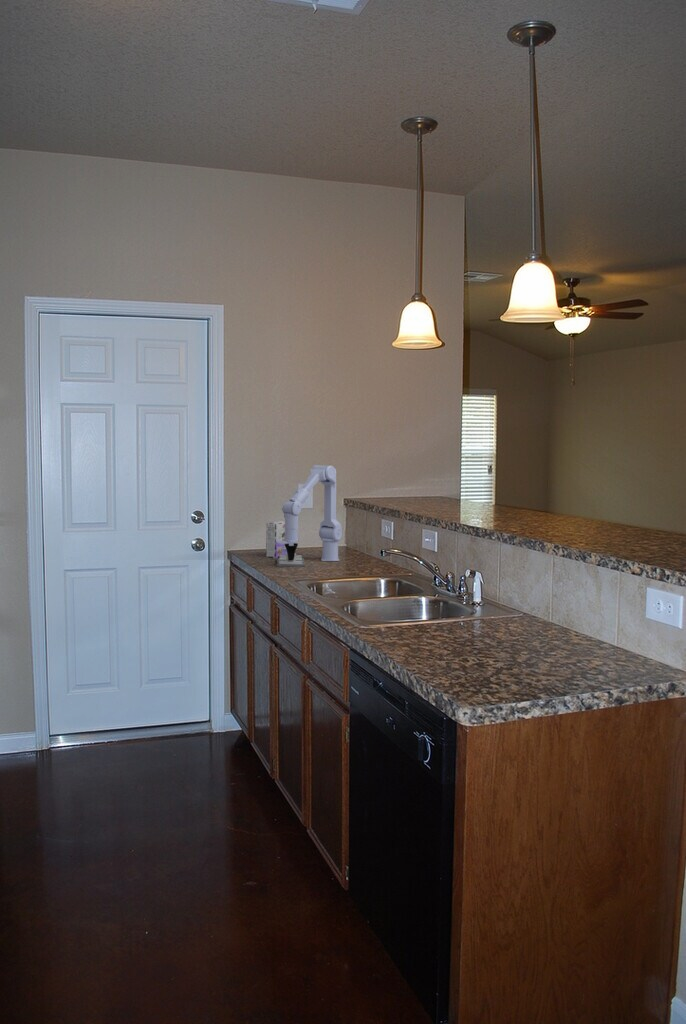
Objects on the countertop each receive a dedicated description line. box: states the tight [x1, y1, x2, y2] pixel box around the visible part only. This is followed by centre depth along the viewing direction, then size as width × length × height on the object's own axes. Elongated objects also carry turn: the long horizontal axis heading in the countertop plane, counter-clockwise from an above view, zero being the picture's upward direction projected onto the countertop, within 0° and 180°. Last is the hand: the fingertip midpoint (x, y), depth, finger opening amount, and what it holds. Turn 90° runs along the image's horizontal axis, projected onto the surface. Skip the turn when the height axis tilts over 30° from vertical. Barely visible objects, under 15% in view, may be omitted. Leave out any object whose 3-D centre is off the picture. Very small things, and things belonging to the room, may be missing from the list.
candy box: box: [265, 519, 289, 559], centre depth 373 cm, size 14×6×16 cm, turn 144°
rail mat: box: [276, 554, 306, 567], centre depth 353 cm, size 18×12×2 cm, turn 4°
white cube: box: [286, 552, 297, 561], centre depth 348 cm, size 4×4×4 cm
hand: (291, 560), depth 345 cm, fingers closed
